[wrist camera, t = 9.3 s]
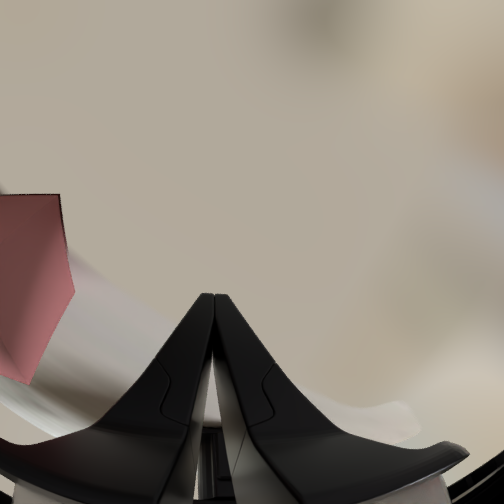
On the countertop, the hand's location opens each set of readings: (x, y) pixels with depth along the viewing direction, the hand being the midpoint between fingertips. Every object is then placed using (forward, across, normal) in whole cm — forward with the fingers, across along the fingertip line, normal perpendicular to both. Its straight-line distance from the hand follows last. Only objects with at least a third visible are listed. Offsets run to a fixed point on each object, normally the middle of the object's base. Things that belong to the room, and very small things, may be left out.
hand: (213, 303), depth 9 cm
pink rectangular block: (+3, +15, 0) cm, 15 cm away
